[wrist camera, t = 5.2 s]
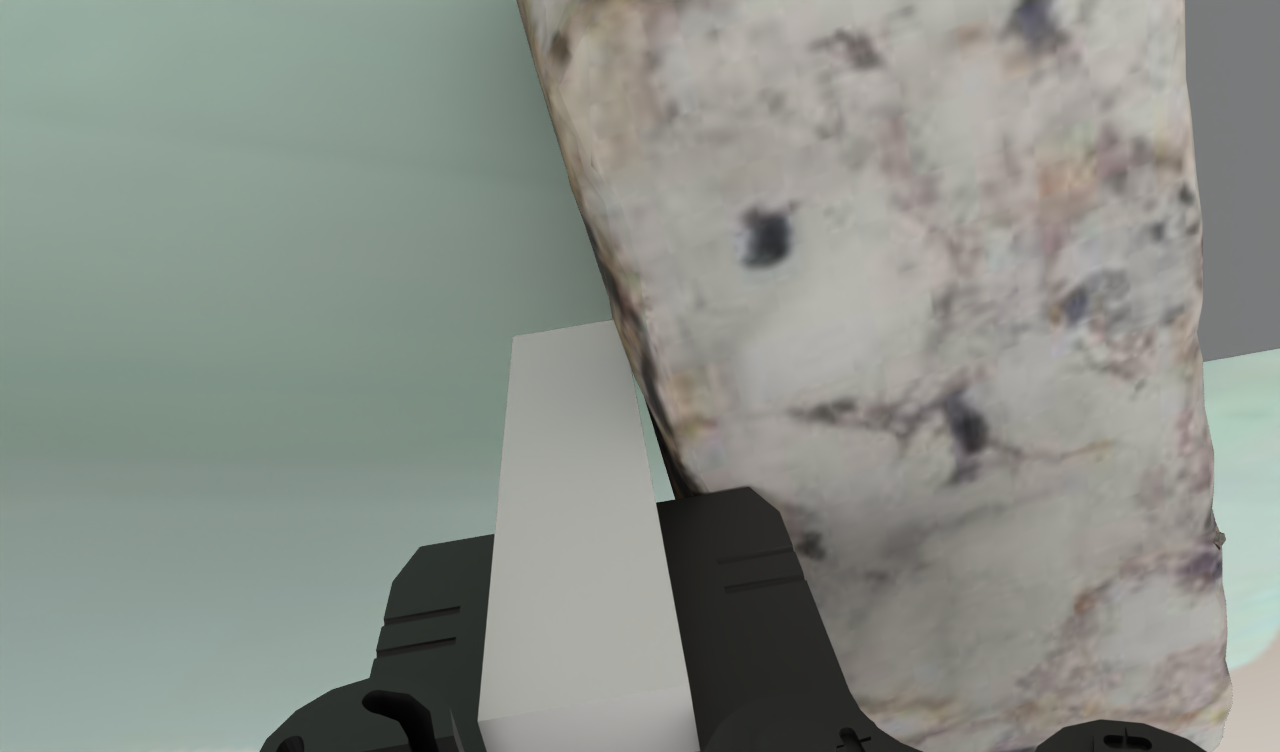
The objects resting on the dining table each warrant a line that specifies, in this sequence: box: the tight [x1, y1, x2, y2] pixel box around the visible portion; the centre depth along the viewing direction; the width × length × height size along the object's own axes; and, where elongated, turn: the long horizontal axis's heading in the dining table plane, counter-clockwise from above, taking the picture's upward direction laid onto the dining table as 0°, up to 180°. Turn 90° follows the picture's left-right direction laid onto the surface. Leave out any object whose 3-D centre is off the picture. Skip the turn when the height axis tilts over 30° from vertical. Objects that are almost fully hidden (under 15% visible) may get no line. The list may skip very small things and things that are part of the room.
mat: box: [1185, 0, 1280, 362], centre depth 28 cm, size 18×22×1 cm
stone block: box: [517, 0, 1232, 752], centre depth 19 cm, size 13×7×20 cm, turn 23°
